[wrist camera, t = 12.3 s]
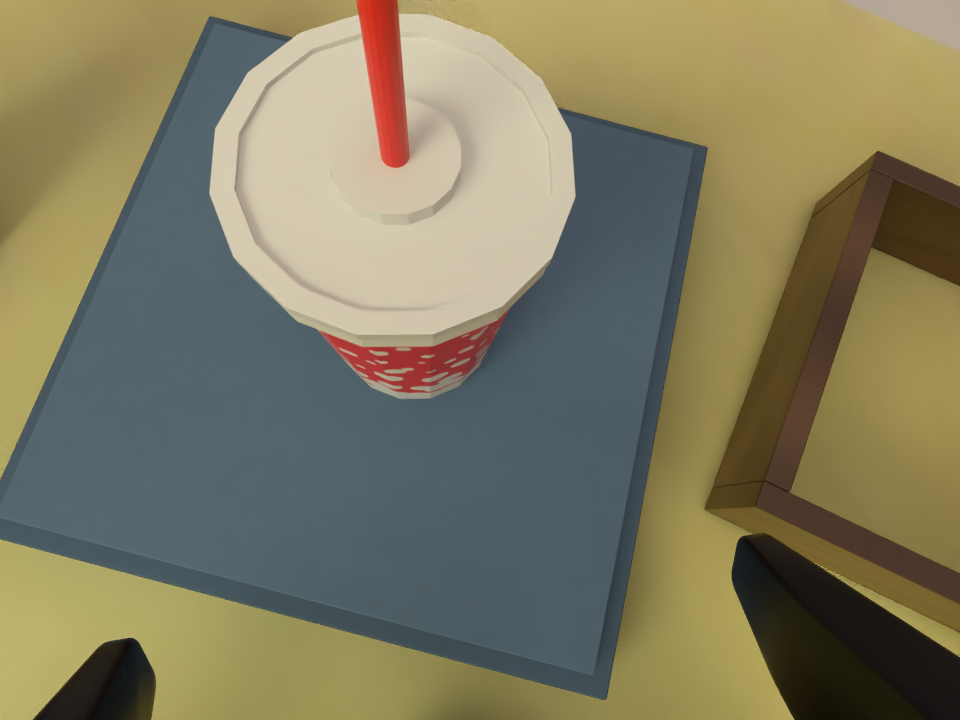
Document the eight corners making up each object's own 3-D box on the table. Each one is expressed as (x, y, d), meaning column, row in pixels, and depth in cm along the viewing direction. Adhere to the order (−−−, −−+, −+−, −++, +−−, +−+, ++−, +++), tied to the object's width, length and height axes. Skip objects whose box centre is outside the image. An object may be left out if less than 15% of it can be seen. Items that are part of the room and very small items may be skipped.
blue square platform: (590, 683, 19) (611, 706, 17) (20, 532, 20) (-39, 533, 17) (687, 176, 24) (714, 137, 22) (227, 55, 24) (203, 3, 22)
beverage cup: (498, 443, 19) (655, 221, 5) (290, 405, 18) (-113, 76, 5) (529, 252, 20) (713, -303, 7) (338, 216, 20) (131, -422, 7)
